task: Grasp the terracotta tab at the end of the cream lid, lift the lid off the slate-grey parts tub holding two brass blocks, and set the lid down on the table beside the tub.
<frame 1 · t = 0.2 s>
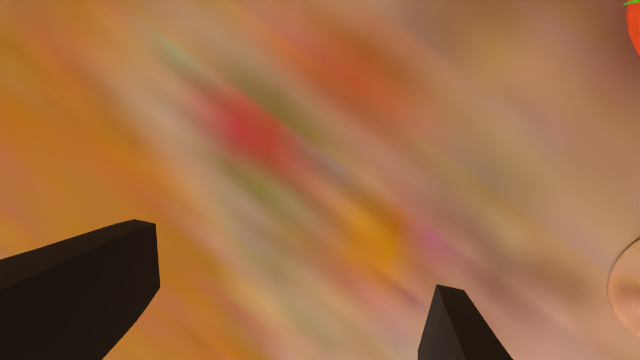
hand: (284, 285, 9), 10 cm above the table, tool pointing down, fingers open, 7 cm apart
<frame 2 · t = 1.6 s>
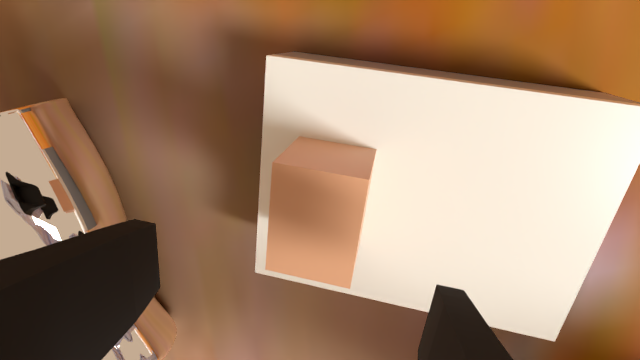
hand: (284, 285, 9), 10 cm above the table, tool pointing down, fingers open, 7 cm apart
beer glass: (129, 357, 22), point 3 cm above the table
tub: (416, 173, 18), on the table
lid: (418, 198, 15), point 3 cm above the table, touching tub
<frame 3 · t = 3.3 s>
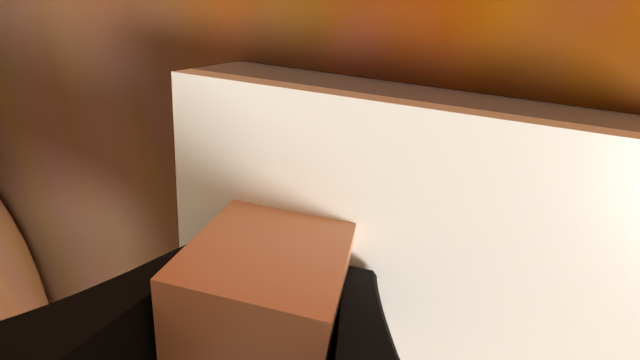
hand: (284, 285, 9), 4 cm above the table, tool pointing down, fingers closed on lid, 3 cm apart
tub: (419, 234, 12), on the table
lid: (424, 291, 10), point 3 cm above the table, touching gripper, tub
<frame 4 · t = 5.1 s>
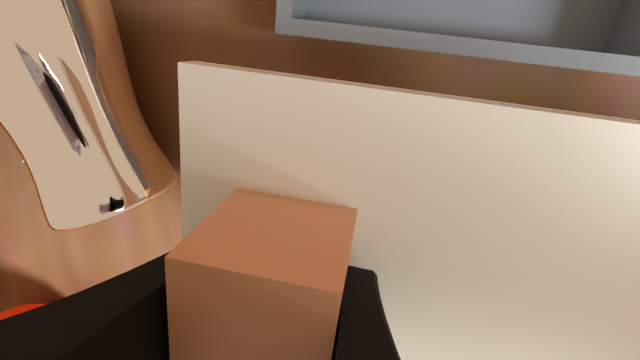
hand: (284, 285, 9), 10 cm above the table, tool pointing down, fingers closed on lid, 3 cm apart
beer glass: (120, 204, 19), point 3 cm above the table
lid: (422, 275, 10), point 9 cm above the table, touching gripper
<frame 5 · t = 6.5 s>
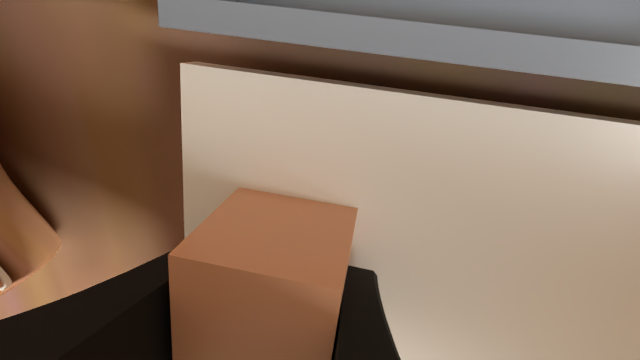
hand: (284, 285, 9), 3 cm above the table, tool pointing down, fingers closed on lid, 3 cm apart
lid: (421, 274, 10), point 1 cm above the table, touching gripper
when the fingers open (3 cm above the table, at t = 7.2 s): lid drops 2 cm, on the table.
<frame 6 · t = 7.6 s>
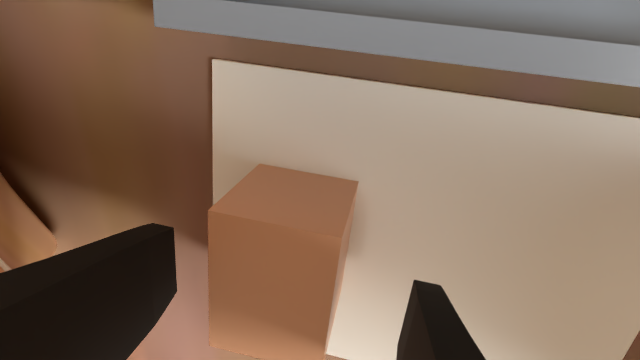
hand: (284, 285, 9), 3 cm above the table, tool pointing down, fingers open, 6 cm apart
lid: (414, 240, 12), on the table
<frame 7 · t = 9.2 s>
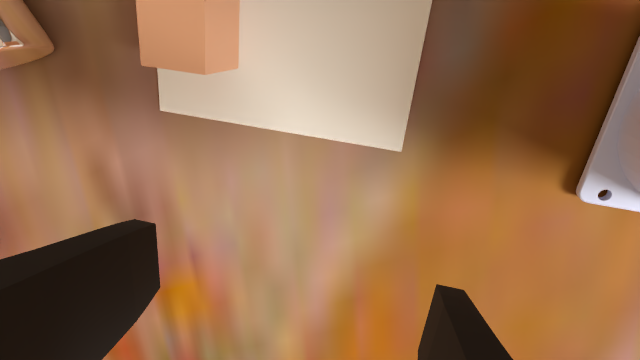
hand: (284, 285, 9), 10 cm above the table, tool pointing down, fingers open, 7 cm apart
lid: (285, 29, 18), on the table
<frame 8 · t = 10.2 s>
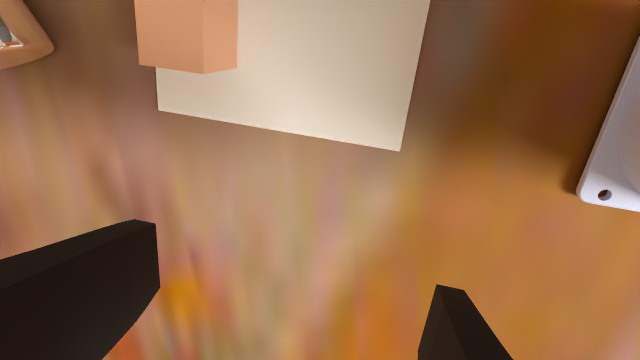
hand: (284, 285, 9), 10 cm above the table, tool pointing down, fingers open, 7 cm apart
lid: (283, 29, 18), on the table
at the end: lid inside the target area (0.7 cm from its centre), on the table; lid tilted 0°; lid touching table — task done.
